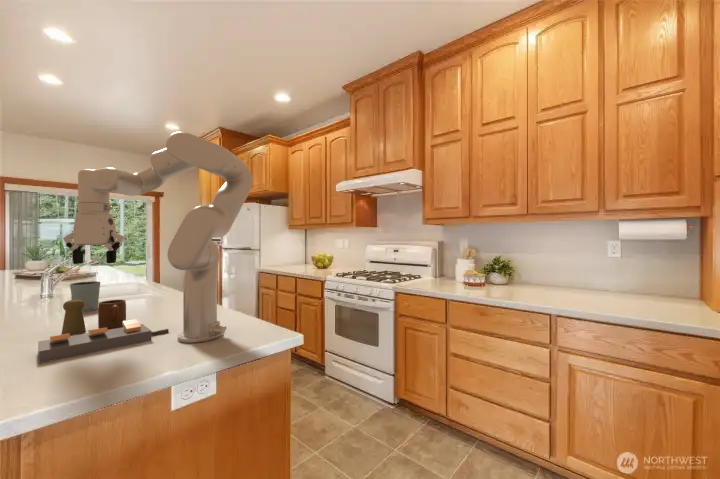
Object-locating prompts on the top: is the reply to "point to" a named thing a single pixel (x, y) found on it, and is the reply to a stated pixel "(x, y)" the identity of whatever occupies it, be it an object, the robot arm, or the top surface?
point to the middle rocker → (98, 331)
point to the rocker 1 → (59, 338)
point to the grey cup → (86, 294)
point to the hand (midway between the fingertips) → (94, 263)
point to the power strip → (93, 343)
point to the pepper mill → (73, 318)
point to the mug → (111, 314)
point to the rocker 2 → (131, 325)
